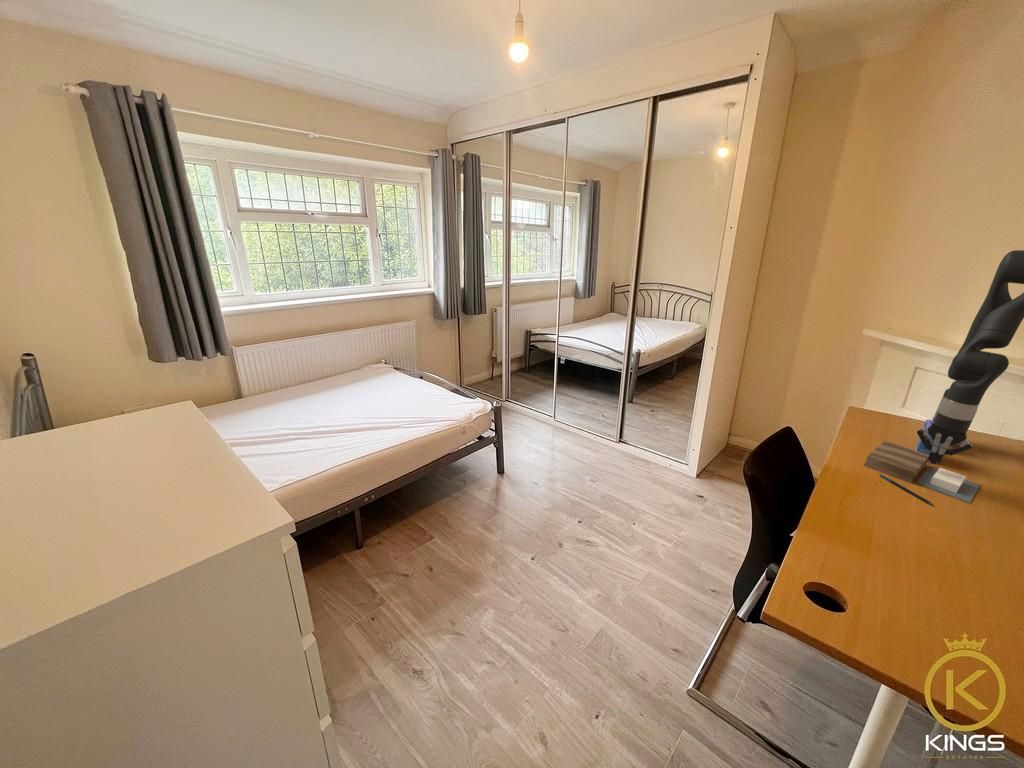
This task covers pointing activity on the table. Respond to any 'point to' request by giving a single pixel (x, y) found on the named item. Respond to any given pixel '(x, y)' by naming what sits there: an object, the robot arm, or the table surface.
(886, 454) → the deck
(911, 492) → the pen
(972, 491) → the mat
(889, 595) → the table surface
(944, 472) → the cream rectangular block
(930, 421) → the ink cartridge box
